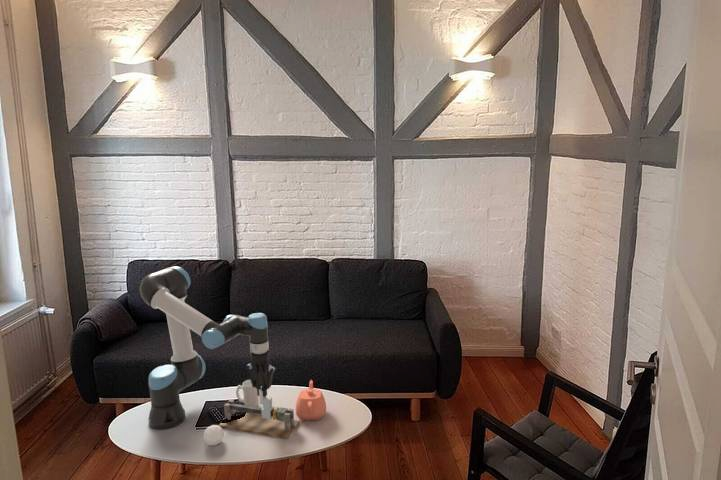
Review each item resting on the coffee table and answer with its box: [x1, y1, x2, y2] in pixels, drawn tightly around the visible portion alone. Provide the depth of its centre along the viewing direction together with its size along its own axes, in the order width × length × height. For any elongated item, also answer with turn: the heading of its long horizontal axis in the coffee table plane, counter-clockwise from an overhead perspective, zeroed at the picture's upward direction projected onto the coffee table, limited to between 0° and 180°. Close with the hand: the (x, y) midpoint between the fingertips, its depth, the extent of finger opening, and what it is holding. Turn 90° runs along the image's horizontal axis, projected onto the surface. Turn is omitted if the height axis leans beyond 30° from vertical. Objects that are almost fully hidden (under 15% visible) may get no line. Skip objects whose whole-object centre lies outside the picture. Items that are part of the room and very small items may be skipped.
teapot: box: [295, 379, 327, 422], centre depth 232 cm, size 13×20×12 cm, turn 4°
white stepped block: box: [261, 395, 275, 419], centre depth 222 cm, size 4×4×8 cm
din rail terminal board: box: [218, 399, 301, 440], centre depth 224 cm, size 32×12×9 cm, turn 73°
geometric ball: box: [203, 424, 225, 446], centre depth 212 cm, size 8×8×8 cm
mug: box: [235, 379, 260, 408], centre depth 238 cm, size 10×7×12 cm, turn 88°
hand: (262, 402), depth 222 cm, fingers closed
